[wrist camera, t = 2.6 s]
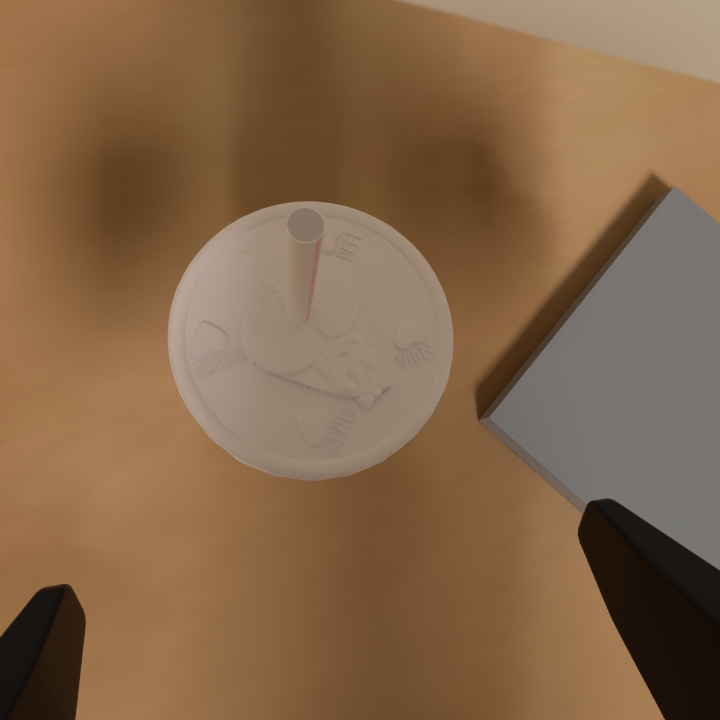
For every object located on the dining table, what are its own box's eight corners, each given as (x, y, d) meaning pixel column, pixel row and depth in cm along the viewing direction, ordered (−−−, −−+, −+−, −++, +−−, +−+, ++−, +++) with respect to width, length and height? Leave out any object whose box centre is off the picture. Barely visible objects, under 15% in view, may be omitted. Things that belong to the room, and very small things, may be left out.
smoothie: (304, 284, 22) (336, -18, 8) (415, 395, 22) (632, 268, 8) (183, 391, 20) (-18, 234, 7) (299, 513, 20) (330, 599, 7)
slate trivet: (888, 398, 25) (918, 394, 24) (742, 656, 21) (768, 666, 20) (656, 199, 25) (674, 185, 24) (478, 420, 22) (489, 417, 21)
